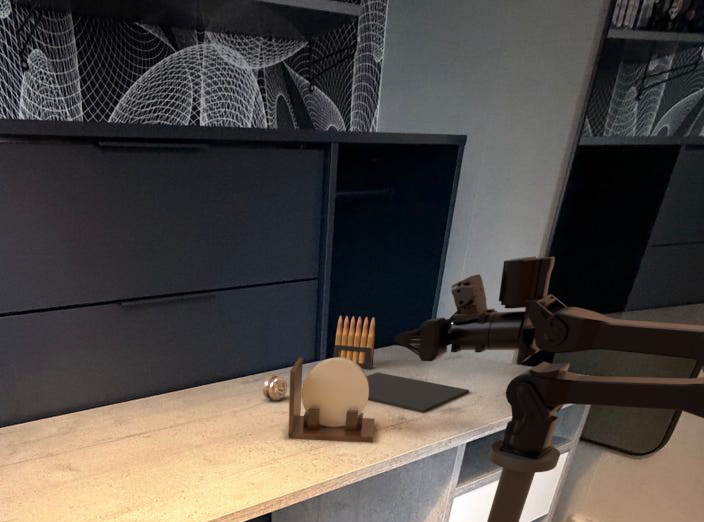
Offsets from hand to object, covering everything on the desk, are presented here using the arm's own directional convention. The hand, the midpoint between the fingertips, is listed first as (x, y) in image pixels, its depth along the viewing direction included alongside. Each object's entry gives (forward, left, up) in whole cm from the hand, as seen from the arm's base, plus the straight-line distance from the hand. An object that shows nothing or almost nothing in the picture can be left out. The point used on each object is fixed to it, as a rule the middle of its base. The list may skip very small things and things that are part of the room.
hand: (407, 333), depth 95 cm
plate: (+3, +17, -14) cm, 22 cm away
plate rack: (+3, +17, -15) cm, 23 cm away
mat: (+8, -12, -15) cm, 21 cm away
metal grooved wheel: (+25, +10, -15) cm, 30 cm away
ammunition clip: (+30, -24, -15) cm, 41 cm away
